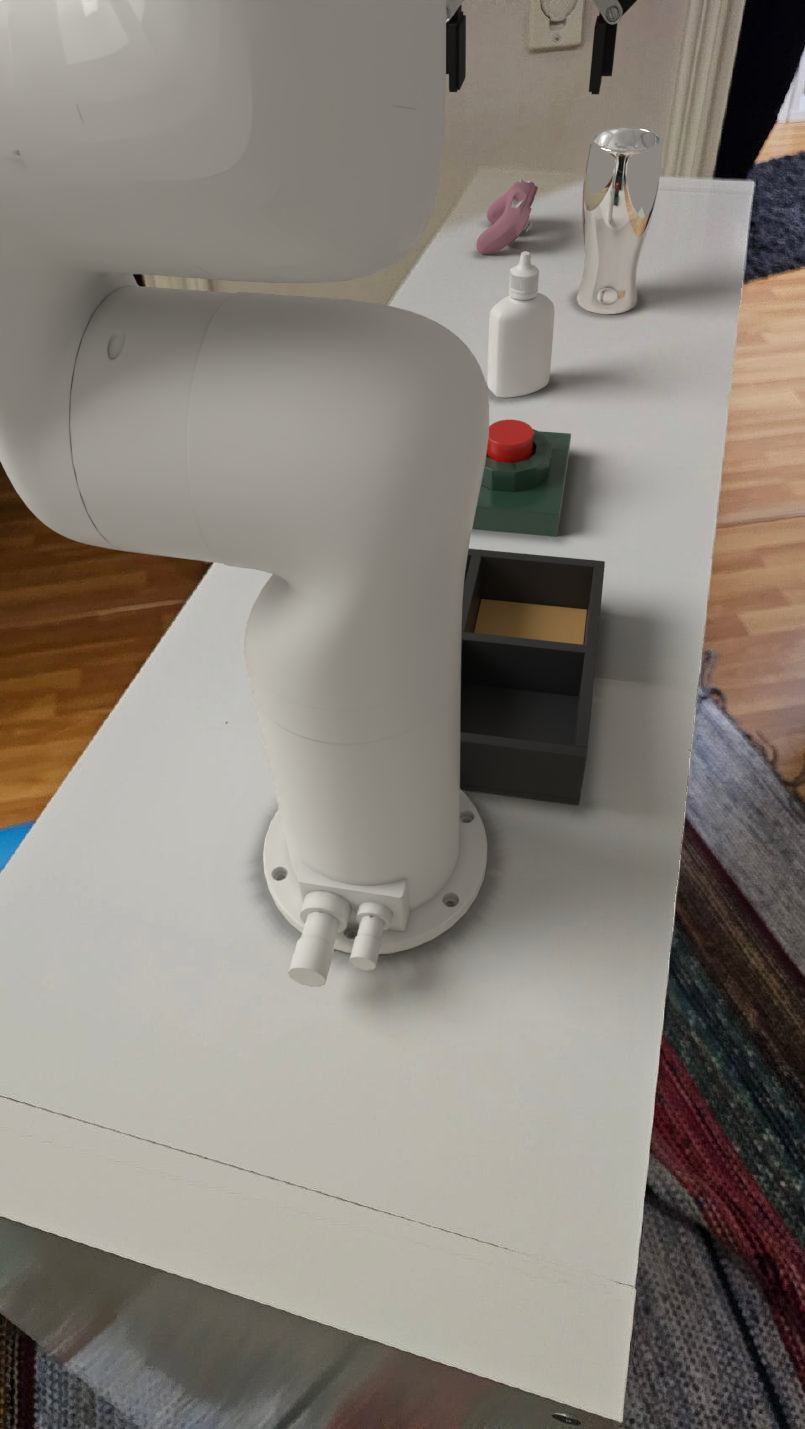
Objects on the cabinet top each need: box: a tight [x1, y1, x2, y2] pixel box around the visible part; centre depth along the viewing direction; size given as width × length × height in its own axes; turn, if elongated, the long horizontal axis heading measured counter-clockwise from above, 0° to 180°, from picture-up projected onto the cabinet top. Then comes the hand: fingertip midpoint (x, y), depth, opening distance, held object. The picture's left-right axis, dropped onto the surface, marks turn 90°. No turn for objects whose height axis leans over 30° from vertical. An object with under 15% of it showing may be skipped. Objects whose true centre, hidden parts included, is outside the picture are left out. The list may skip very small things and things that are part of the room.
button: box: [487, 419, 534, 463], centre depth 74 cm, size 4×4×2 cm
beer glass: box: [576, 126, 664, 315], centre depth 93 cm, size 7×7×15 cm
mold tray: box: [460, 548, 606, 806], centre depth 62 cm, size 17×17×5 cm
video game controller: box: [475, 177, 539, 255], centre depth 107 cm, size 10×5×7 cm, turn 168°
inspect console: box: [472, 428, 572, 538], centre depth 76 cm, size 11×9×4 cm
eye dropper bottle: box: [486, 251, 556, 399], centre depth 83 cm, size 4×6×12 cm
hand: (525, 87), depth 67 cm, fingers open, 9 cm apart
